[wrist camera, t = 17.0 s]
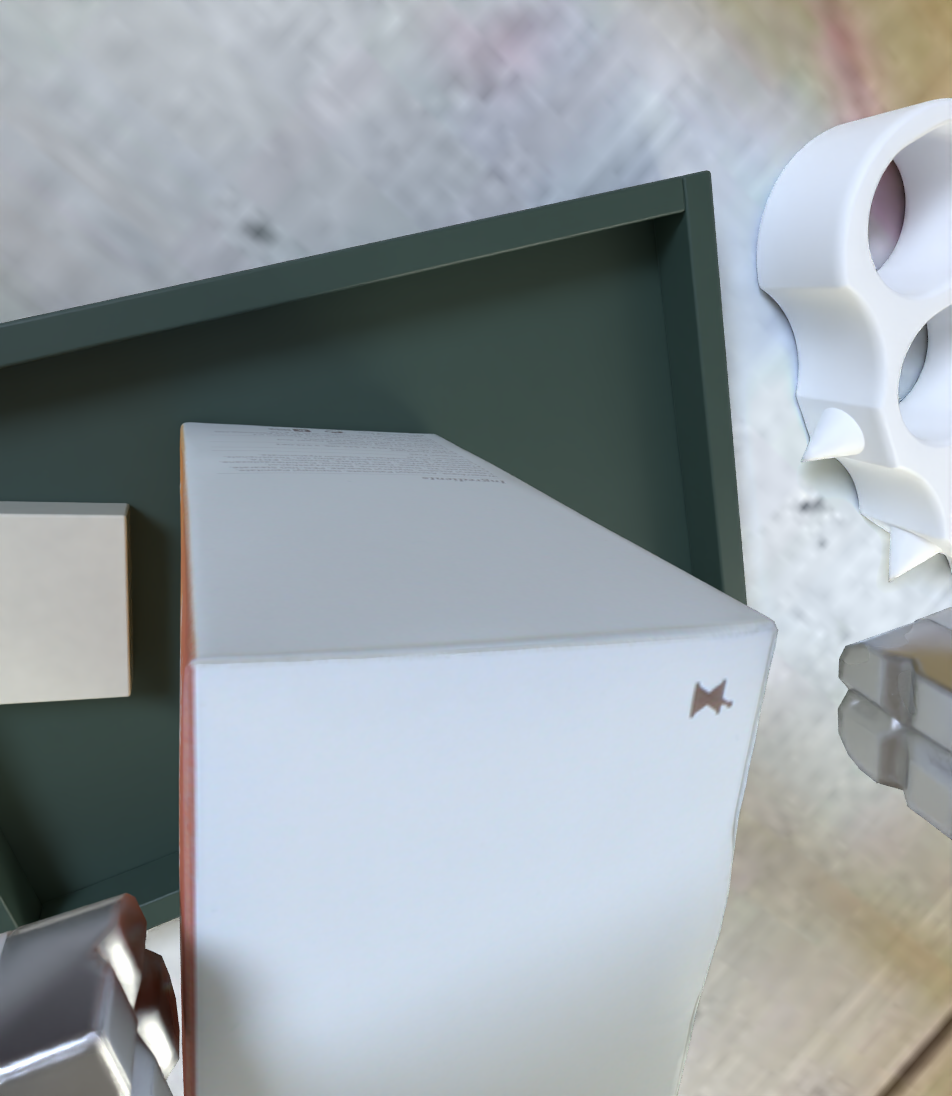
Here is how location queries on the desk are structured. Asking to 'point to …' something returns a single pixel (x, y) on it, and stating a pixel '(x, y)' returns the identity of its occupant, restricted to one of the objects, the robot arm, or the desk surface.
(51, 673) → the chalk block
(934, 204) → the white brass knuckles
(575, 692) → the small box
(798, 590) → the desk surface
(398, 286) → the tray
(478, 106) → the desk surface
